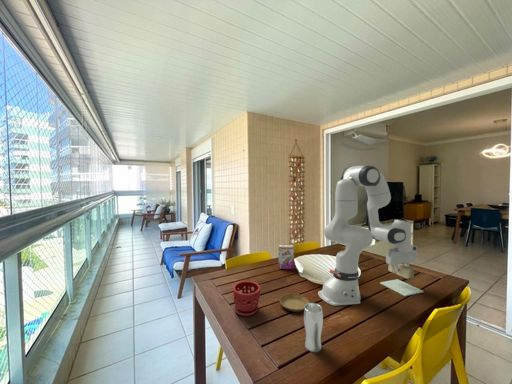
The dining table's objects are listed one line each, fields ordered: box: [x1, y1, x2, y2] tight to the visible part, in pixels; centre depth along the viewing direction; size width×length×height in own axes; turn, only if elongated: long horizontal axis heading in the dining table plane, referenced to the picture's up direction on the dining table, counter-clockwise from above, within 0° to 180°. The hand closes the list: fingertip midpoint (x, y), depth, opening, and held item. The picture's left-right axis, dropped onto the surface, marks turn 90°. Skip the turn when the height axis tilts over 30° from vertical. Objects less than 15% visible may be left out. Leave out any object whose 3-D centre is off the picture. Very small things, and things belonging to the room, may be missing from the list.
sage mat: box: [379, 278, 424, 297], centre depth 127 cm, size 14×16×1 cm
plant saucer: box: [279, 293, 310, 313], centre depth 110 cm, size 15×15×3 cm
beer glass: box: [303, 302, 324, 353], centre depth 82 cm, size 7×7×15 cm
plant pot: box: [232, 280, 261, 317], centre depth 105 cm, size 13×13×12 cm
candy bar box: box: [278, 244, 295, 270], centre depth 157 cm, size 11×5×16 cm, turn 84°
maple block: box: [387, 264, 415, 280], centre depth 127 cm, size 5×5×12 cm
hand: (401, 270), depth 127 cm, fingers closed on maple block, 5 cm apart
